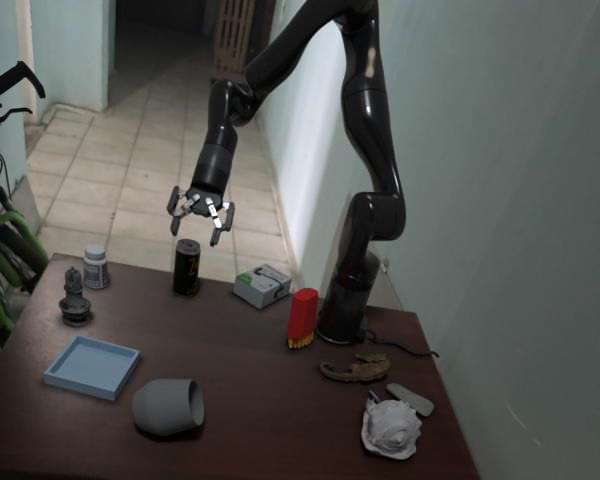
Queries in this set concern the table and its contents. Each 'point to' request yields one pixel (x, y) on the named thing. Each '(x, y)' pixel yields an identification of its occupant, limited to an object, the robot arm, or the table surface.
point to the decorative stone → (411, 399)
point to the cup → (168, 406)
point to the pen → (375, 397)
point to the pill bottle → (95, 266)
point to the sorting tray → (93, 367)
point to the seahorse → (361, 369)
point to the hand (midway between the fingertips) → (192, 240)
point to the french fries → (302, 317)
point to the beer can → (186, 267)
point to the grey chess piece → (74, 301)
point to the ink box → (262, 285)
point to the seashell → (390, 429)
